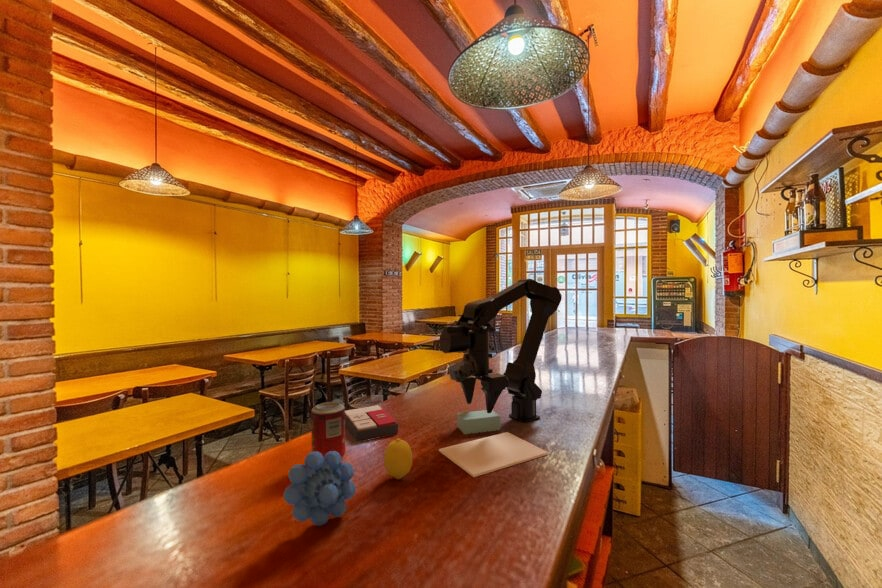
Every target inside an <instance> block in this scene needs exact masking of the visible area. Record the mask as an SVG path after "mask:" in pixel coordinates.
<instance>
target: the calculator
mask: <svg viewBox="0 0 882 588" xmlns="http://www.w3.org/2000/svg"><path fill="white" fill-rule="evenodd" d="M345 429H346V430H347V431H348V433H349V434H350V436H351V437H352V438H353V439H354V440H355V442H357V443H359V442H363V441H364V440H365V441H368V439H370V440H373V439H372V438H374V439H378V438H377V437H379V438H382V437H383V436H384V437H387V436H388V435H389V436H394V435H397V433H398V434H399V423H398V422H397V420H395V419H394V418H393V417H392V416H391V415H390V414H389V413H388V412H387V411H386V410H385V409H383V408H382V406H380V405H378V404H377V405H371V406H366V407H359V408H354V409H348V410H345ZM393 434H394V435H393ZM365 441H364V442H365Z"/></svg>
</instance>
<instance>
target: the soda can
mask: <svg viewBox="0 0 882 588" xmlns="http://www.w3.org/2000/svg"><path fill="white" fill-rule="evenodd" d="M345 411H346V407H345V406H344V404H342V403H340V402H338V401H337V402H336V401H326V402H322V403H318V404H316V405H315V406H313V407H312V409H311V411H310V420H311V421H310V424H311V427H310V428H311V432H310V433H311V452H313V451H316V452H319V453H321V454H322V456H323V458H324V456H325V455H326V453H328V452H329V451H336V452H338V453H339V454H340V456H341V458H342V459H343V458H344V456H345V455H346V428H345Z"/></svg>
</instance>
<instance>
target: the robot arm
mask: <svg viewBox="0 0 882 588" xmlns="http://www.w3.org/2000/svg"><path fill="white" fill-rule="evenodd" d="M524 297H525V298H527V299H529V300H530V302H529V307H530V310H531V315H530V318H529V322H528V324H527V327H526V330H525V333H524V337H523V338H522V343H521V346H520V349H519V352H518V353H517V354H518V355H517V357H516V359H515V360H514V361H513V362H510V361H508V362H507V364H506V367H505V371H504V372H503V374H501V373H493V368H490V358H491V359H492V358H493V353H490V348H489V347H490V342H489V341H490V337H489V336H490V335H489V333H495V332H496V329H495V327H493V326H492V325H491V323H490V322H492V320H494V319H496V317H497V316H498V314H499V312H500V311H501V310H502V309H505V308H506V307H508V306H510V305H512V304H513V303H515V302H517V301H518V300H520V299H522V298H524ZM562 298H563V297H562V294H561V292H560V290H559V289H558V288H557V287H556V286H550V285H547V284H544V283H541V282H538V281H536V280H535V279H532V278H521V279H519V280H517V282H515V283H513V284H511V285H509V286H507V287H506V288H504V289H502V290H500V291H498V292H497V293H495V294H493V295H491V296H489V297H486V298H482V299H477V300H473V301H469V302H467V303H466V304H465V305H464V307H463V312H462V314H461V315H460V317H459V319H458V320H457V322H456V323H455V325H453V326H451V325H443V328H442V329H443V330H442V332H441V333H440V336H439V337H440V338H439V339H438V343H439V347H440V350H441V352H442V353H443V354H450V353H461V352H464V354H463V358H462V360H459V361H457V362H456V363H453V364H451V365H450V366H448V367H447V371H448V374H449V377H450V380H451V381H453V380H454V381H456V382H457V383H459V384H460V386H461V388H462V392H463V394H464V397H465V401H466V404H468V405H470V404H472V401H473V398H474V393H475V388H476V387H475V386H476V382H477V380H479V381H480V384H481V388H480V390H481V391H482V392H483V394H484V396H485V399H484V400H485V407H486V408H485V410H487V413H491V412H492V410H493V411H494V408H495V406H496V404H497V401H498V400H499V397H500V396H501V394H502V393H503V391H504V390H506V389H507V392H508V394H509V395H512V396H511V399H512V400H511V413H509V414H508V417H510V418H512V419H515V420H516V421H517V420H518V421H519V422H521V423H527V422H531V421H535V419H536V420H539V418H540V419H541V416H539V415H537V400H539V399H541V398H542V394H543V390H542V389H541V388H540V387H539V386H538V385H537V384H536V377H537V375H536V369H535V361H536V359H537V355H538V351H539V349H540V346H541V342H542V341H543V337H544V335H545V331H546V328H547V325H548V321H549V320H550V319H549V318H550V317H552V316H553V314H555V312H556V311H557V310H558V308H559V306H560V304H561V301H562Z"/></svg>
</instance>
